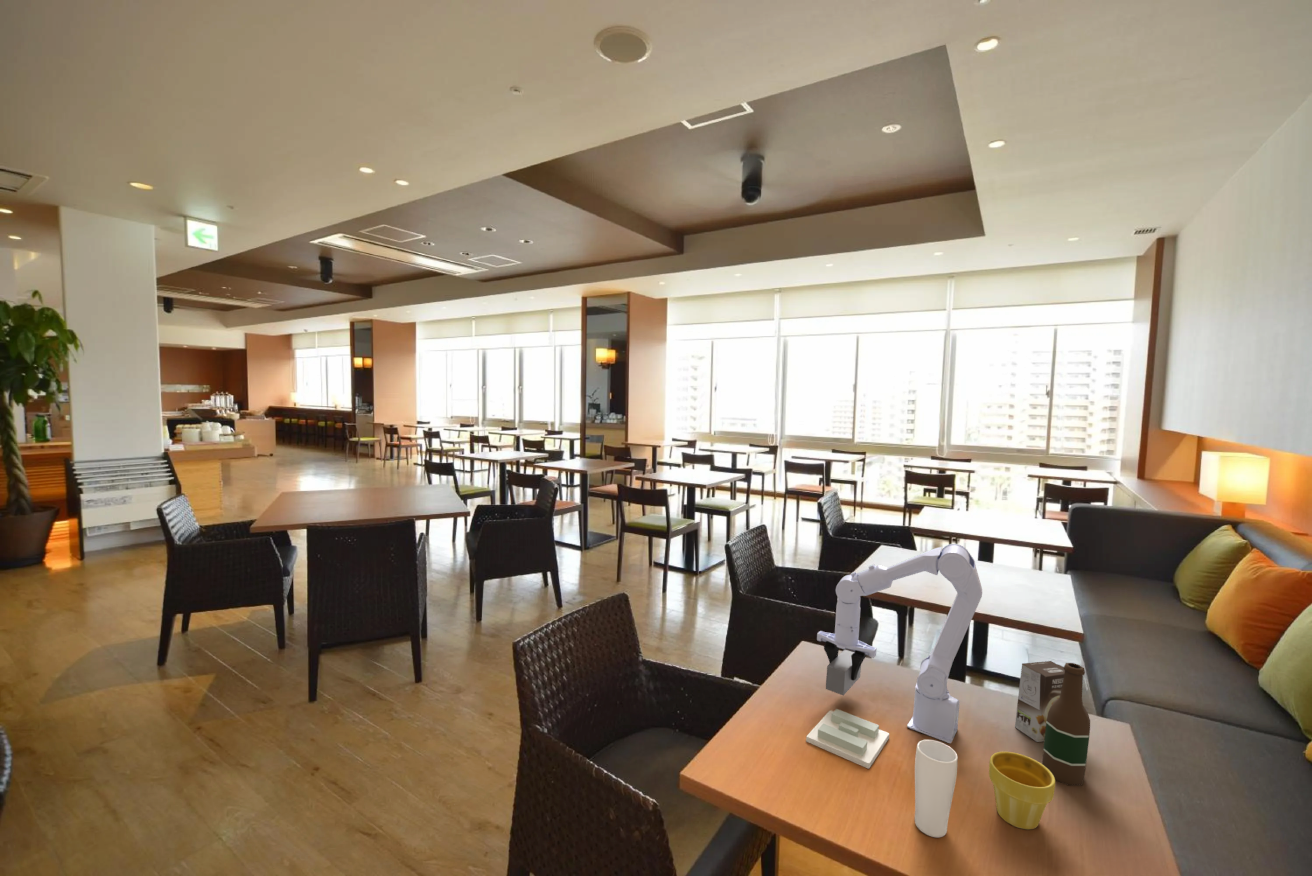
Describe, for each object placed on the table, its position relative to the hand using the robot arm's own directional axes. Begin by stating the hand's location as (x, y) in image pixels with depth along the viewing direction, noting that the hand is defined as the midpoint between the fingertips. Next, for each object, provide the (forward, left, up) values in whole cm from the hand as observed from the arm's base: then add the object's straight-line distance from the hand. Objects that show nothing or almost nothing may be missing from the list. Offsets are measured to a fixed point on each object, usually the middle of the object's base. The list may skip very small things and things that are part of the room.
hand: (843, 675), depth 145 cm
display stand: (-7, +15, -7) cm, 18 cm away
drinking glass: (-28, +31, -7) cm, 42 cm away
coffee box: (-41, -19, -7) cm, 46 cm away
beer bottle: (-46, -4, -7) cm, 47 cm away
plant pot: (-40, +17, -7) cm, 44 cm away
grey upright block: (0, 0, -2) cm, 2 cm away
